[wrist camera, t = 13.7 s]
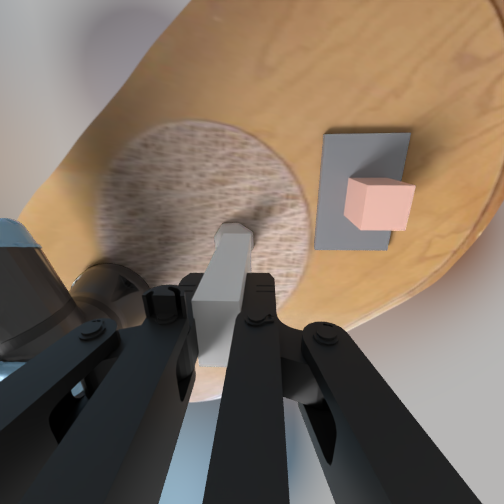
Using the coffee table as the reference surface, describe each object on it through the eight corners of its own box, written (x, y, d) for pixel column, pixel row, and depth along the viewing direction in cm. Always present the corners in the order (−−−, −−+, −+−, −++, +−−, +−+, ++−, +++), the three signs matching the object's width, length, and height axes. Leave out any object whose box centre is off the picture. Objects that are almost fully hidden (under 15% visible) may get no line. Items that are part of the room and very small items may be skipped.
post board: (313, 247, 45) (320, 262, 40) (323, 134, 38) (333, 132, 33) (384, 247, 45) (401, 262, 39) (406, 133, 38) (431, 131, 32)
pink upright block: (343, 214, 42) (360, 230, 34) (348, 177, 39) (367, 185, 32) (380, 215, 41) (405, 230, 34) (387, 177, 39) (415, 185, 32)
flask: (259, 227, 44) (257, 249, 35) (248, 264, 47) (244, 293, 38) (218, 216, 44) (205, 235, 35) (210, 254, 47) (196, 281, 38)
